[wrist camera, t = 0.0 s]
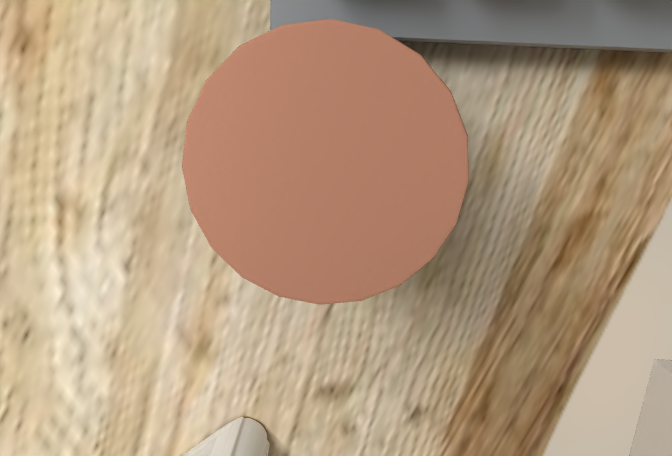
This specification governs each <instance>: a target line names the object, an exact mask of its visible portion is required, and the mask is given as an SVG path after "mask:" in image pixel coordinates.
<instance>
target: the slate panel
mask: <svg viewBox="0 0 672 456" xmlns="http://www.w3.org/2000/svg"><path fill="white" fill-rule="evenodd" d="M324 19H335V20H340V21H344V22H349V23H353V24H358V25H363V26H367V27H372V28H376V29H380V30H381V31H383V32H385V33H386V34H388V35H389V36H391V37H393V38H394V39H396V40H398V41H415V42H438V43H461V44H484V45H506V46H529V47H552V48H575V49H597V50H620V51H643V52H666V53H669V52H672V0H271V10H270V31H271V30H273V29H275V28H277V27H279V26H281V25H284V24H292V23H300V22H308V21H316V20H324Z"/></svg>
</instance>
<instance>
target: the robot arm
mask: <svg viewBox="0 0 672 456" xmlns="http://www.w3.org/2000/svg"><path fill="white" fill-rule="evenodd" d="M629 456H672V360H659V359H657V360H656V359H655V360H654V363H653V367H652V371H651V375H650V378H649V382H648V386H647V390H646V393H645V397H644V401H643V405H642V409H641V413H640V416H639V420H638V424H637V428H636V432H635V435H634V439H633V443H632V447H631V451H630V454H629Z"/></svg>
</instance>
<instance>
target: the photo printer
mask: <svg viewBox="0 0 672 456" xmlns="http://www.w3.org/2000/svg"><path fill="white" fill-rule="evenodd" d="M268 452H269V442H268V441H267V433H266V431H265V429H264V428H263V426H262V425H261V424H260V423H258V422H257V421H255V420H253V419H251V418H244V417H240V418H238V419H235V420H233V421H232V422H230V423H228V424H227V425H225V426H224V427H222V428H221V429H219V430H218V431H216V432H215V433H213V434H212V435H210V436H209V437H208V438H206V439H205V440H203V441H202V442H200V443H199V444H198V445H196V446H195V447H193V448H192V449H191V450H189V451H188V452H186V453H185V454H184V455H183V456H268Z"/></svg>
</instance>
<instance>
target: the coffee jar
mask: <svg viewBox="0 0 672 456" xmlns="http://www.w3.org/2000/svg"><path fill="white" fill-rule="evenodd" d="M182 169H183V174H184V179H185V184H186V189H187V194H188V199H189V204H190V209H191V211H192V213H193V215H194V217H195V218H196V220H197V222H198V224H199V226H200V228H201V229H202V231H203V233H204V235H205V237H206V238H207V240H208V242H209V244H210V246H211V247H212V248H213V249H214V250H215V251H216V252H217V253H218V254H219V255H220V256H221V257H222V258H223V259H224V260H225V261H226V262H227V263H228V264H229V265H230V266H231V267H232V268H233V269H234V270H235V271H236V272H237V273H238V274H239V275H240V276H241V277H243V278H245V279H247V280H249V281H250V282H252V283H254V284H256V285H258V286H260V287H262V288H264V289H266V290H268V291H270V292H272V293H273V294H275V295H277V296H279V297H285V298H290V299H295V300H300V301H305V302H310V303H315V304H330V303H341V302H352V301H362V300H364V299H367V298H369V297H372V296H374V295H377V294H379V293H382V292H384V291H387V290H389V289H392V288H394V287H397V286H399V285H401V284H402V283H403V282H404V281H406V280H407V279H408V278H409V277H411V276H412V275H413V274H414V273H416V272H417V271H418V270H419V269H421V268H422V267H423V266H424V265H426V264H427V263H428V262H429V261H431V260H432V259H433V257H434V256H435V254H436V253H437V252H438V250H439V249H440V247H441V246H442V244H443V243H444V241H445V240H446V238H447V237H448V235H449V234H450V232H451V231H452V229H453V228H454V226H455V225H456V223H457V220H458V217H459V213H460V210H461V207H462V203H463V200H464V196H465V193H466V189H467V186H468V182H469V166H468V139H467V133H466V130H465V128H464V125H463V122H462V120H461V117H460V114H459V112H458V109H457V106H456V104H455V101H454V98H453V96H452V93H451V91H450V90H449V89H448V87H447V86H446V85H445V84H444V82H443V81H442V80H441V79H440V78H439V76H438V75H437V74H436V73H435V72H434V70H433V69H432V68H431V67H430V65H429V64H428V63H427V62H426V61H425V59H424V58H423V57H422V56H421V55H420V54H419V53H417V52H416V51H414V50H412V49H411V48H409V47H407V46H406V45H404V44H403V43H401V42H399V41H398V40H396V39H394V38H393V37H391V36H389V35H388V34H386V33H385V32H383V31H381V30H380V29H376V28H372V27H367V26H363V25H358V24H353V23H349V22H344V21H340V20H335V19H324V20H316V21H308V22H300V23H292V24H284V25H281V26H279V27H277V28H275V29H273V30H271V31H269V32H267V33H265V34H263V35H261V36H259V37H257V38H255V39H253V40H251V41H249V42H247V43H245V44H243V45H241V46H239V47H238V48H237V49H236V50H235V51H234V52H233V53H232V54H231V55H230V56H229V57H228V58H227V59H226V60H225V61H224V63H223V64H222V65H221V66H220V67H219V68H218V69H217V70H216V71H215V72H214V73H213V74H212V75H211V76H210V77H209V78H208V79H207V80H206V82H205V84H204V86H203V89H202V91H201V93H200V95H199V97H198V99H197V101H196V104H195V106H194V108H193V110H192V112H191V114H190V116H189V119H188V121H187V126H186V135H185V144H184V153H183V162H182Z"/></svg>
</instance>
